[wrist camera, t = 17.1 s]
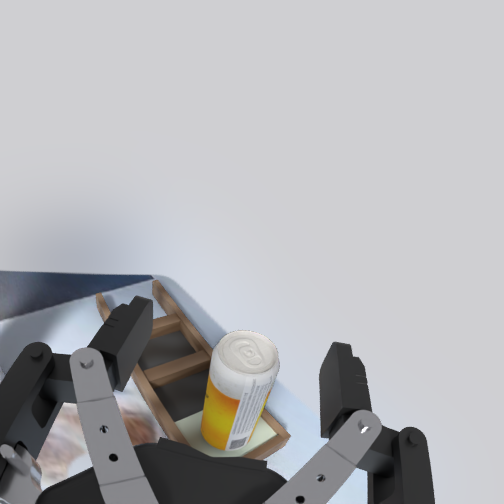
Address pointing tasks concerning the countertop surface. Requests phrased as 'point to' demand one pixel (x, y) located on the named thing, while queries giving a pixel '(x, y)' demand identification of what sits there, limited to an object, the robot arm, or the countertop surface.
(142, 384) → the brown wooden flat frame
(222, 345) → the beer can
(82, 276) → the countertop surface
